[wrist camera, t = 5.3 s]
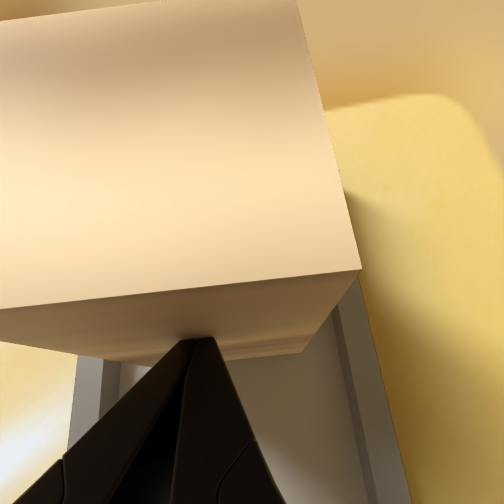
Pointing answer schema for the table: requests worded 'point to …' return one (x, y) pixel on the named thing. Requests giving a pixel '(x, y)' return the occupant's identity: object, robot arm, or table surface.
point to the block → (167, 182)
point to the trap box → (296, 411)
